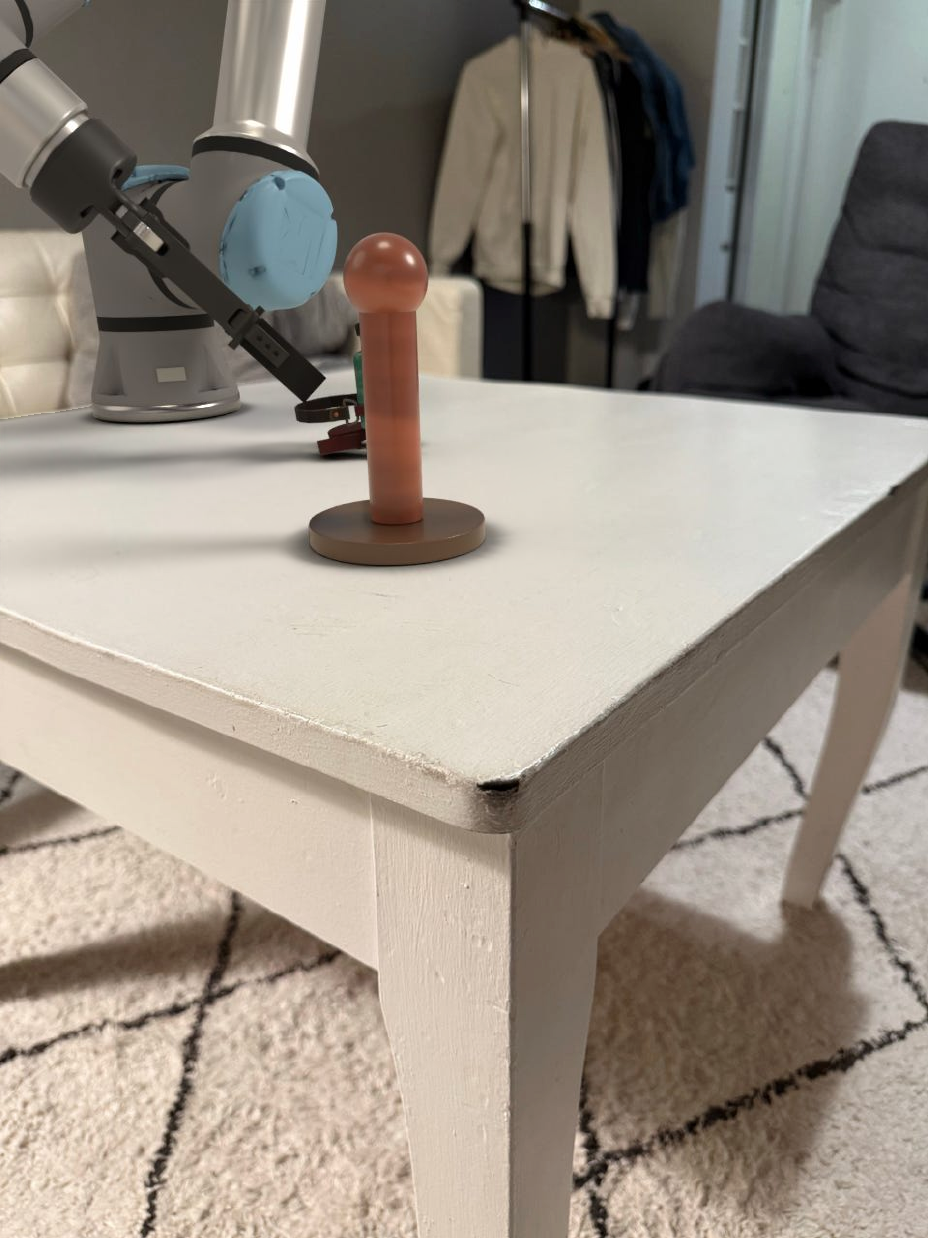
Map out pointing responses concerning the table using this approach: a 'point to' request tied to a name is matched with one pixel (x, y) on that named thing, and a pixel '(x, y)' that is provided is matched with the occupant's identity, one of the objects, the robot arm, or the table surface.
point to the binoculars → (338, 414)
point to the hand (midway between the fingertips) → (313, 389)
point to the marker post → (392, 424)
